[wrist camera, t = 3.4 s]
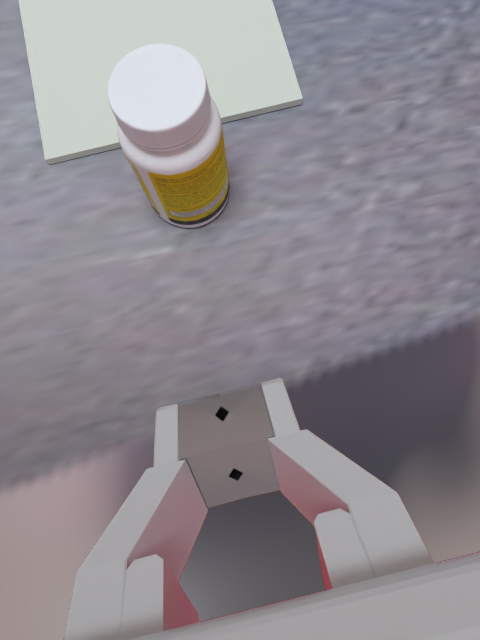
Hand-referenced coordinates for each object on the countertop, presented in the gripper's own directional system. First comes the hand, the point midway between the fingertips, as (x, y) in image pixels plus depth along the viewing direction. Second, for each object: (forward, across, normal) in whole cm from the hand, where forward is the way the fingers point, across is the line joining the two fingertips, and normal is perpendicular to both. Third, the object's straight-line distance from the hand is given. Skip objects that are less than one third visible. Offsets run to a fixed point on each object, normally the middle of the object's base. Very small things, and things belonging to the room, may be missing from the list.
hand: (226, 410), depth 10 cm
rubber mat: (+24, 0, -7) cm, 26 cm away
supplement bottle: (+18, 0, 0) cm, 18 cm away
